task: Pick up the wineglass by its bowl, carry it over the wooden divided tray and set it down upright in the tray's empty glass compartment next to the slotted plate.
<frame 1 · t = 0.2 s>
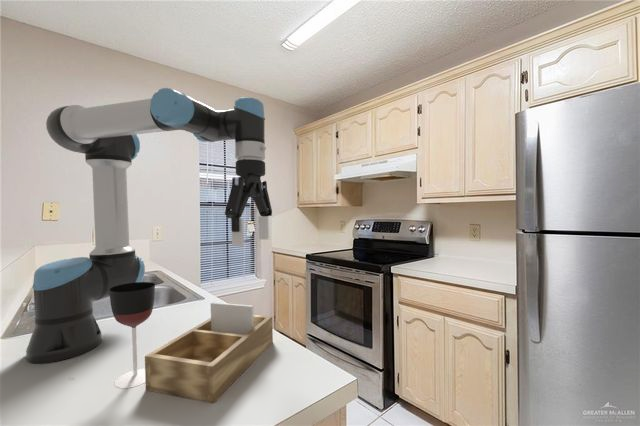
hand: (251, 242, 77), 28 cm above the counter, fingers open, 13 cm apart
slotted plate: (232, 350, 76), resting on wooden divided tray
wineglass: (135, 378, 64), on the counter
wooden divided tray: (218, 362, 70), on the counter
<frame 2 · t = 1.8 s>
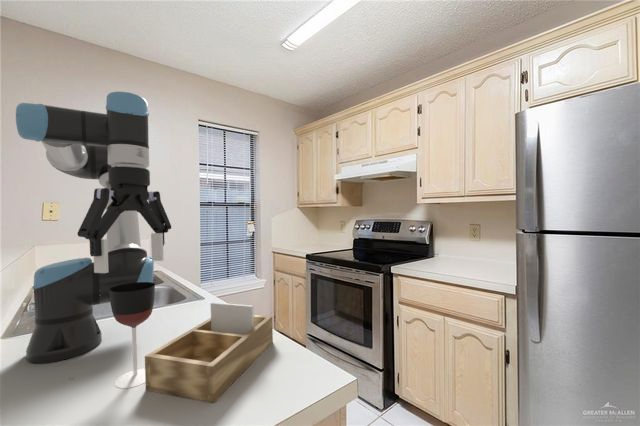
hand: (132, 266, 64), 25 cm above the counter, fingers open, 13 cm apart
nothing on the counter moved.
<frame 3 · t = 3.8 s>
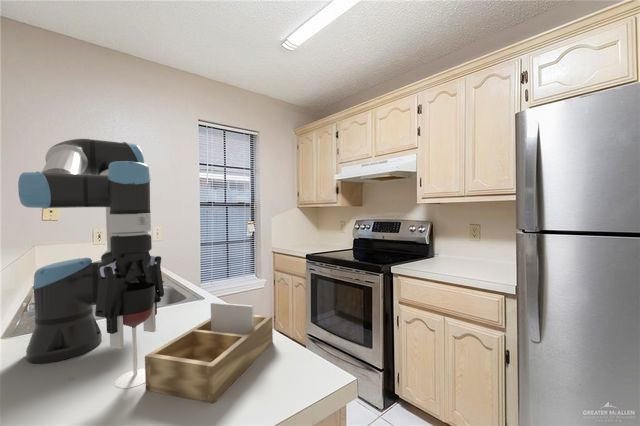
hand: (134, 338, 64), 9 cm above the counter, fingers closed on wineglass, 7 cm apart
wineglass: (135, 378, 64), on the counter, touching gripper
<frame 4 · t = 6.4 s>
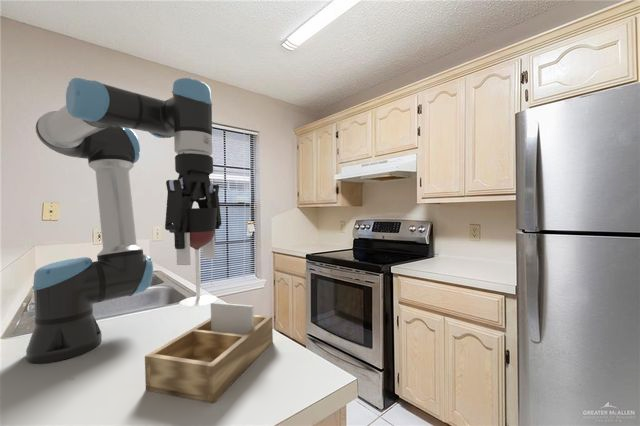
hand: (197, 261, 64), 25 cm above the counter, fingers closed on wineglass, 7 cm apart
wineglass: (198, 301, 64), point 17 cm above the counter, touching gripper
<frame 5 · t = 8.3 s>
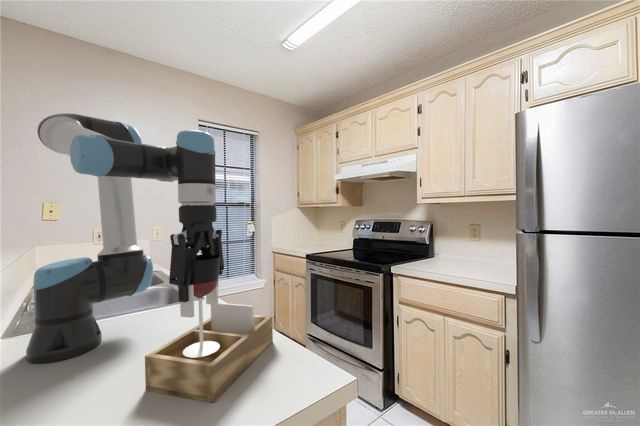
hand: (200, 309, 64), 15 cm above the counter, fingers closed on wineglass, 7 cm apart
wineglass: (201, 349, 64), point 6 cm above the counter, touching gripper
when the fingers open (11 cm above the counter, at t = 9.5 s): wineglass drops 1 cm, resting on wooden divided tray.
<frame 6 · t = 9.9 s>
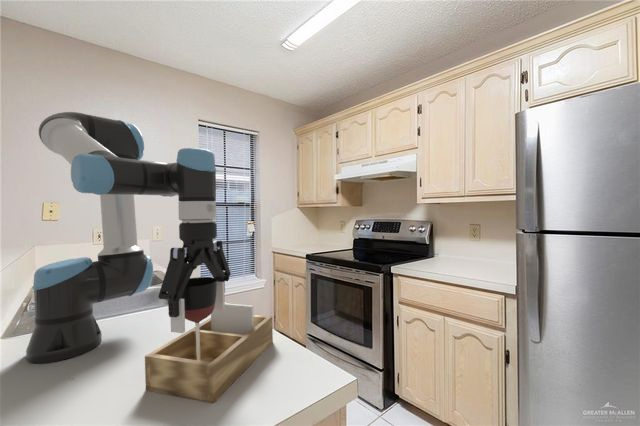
hand: (200, 319, 64), 13 cm above the counter, fingers open, 13 cm apart
wineglass: (199, 374, 64), point 1 cm above the counter, touching wooden divided tray
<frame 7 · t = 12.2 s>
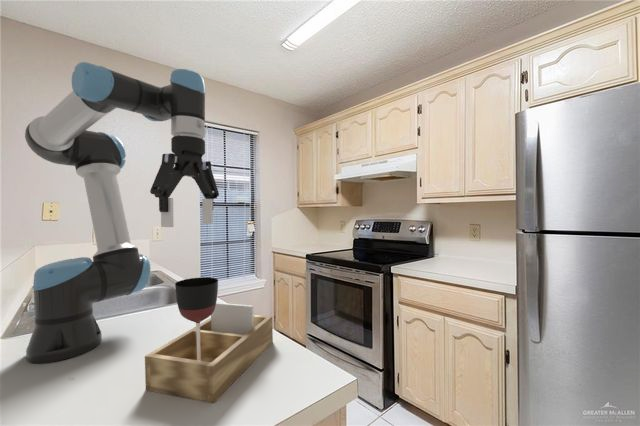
hand: (189, 225, 72), 33 cm above the counter, fingers open, 13 cm apart
nothing on the counter moved.
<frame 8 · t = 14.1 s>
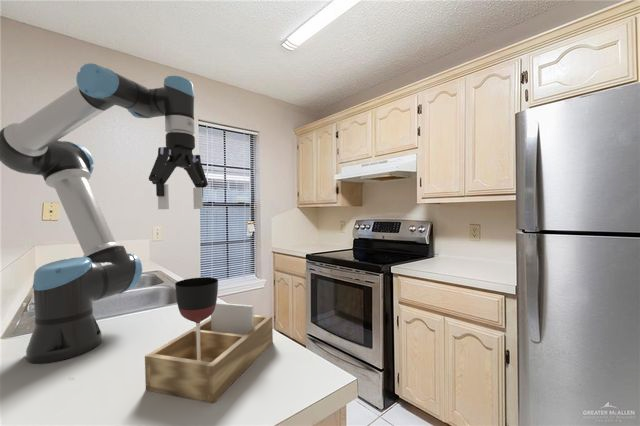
hand: (182, 209, 84), 37 cm above the counter, fingers open, 13 cm apart
nothing on the counter moved.
at the end: wineglass inside the target area on the wooden divided tray (0.7 cm from its centre), point 0.8 cm above the wooden divided tray's base; wineglass tilted 0°; the gripper is holding nothing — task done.
